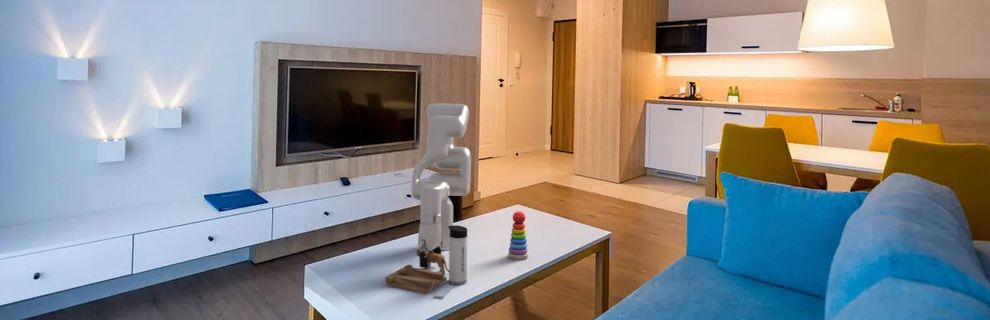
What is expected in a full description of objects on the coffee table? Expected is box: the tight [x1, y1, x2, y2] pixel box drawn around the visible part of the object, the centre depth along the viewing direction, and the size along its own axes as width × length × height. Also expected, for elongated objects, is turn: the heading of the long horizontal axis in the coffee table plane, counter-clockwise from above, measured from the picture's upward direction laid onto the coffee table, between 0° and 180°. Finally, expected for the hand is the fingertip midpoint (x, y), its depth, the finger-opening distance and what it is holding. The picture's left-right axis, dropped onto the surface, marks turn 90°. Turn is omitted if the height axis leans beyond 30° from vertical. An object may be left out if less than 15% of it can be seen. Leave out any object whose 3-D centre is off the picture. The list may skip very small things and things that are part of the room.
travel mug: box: [448, 225, 468, 286], centre depth 186 cm, size 6×7×20 cm
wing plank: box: [434, 284, 454, 300], centre depth 178 cm, size 10×3×1 cm, turn 166°
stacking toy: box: [507, 210, 529, 260], centre depth 213 cm, size 8×8×19 cm
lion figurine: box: [415, 245, 449, 275], centre depth 197 cm, size 15×5×9 cm, turn 67°
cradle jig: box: [385, 264, 447, 295], centre depth 186 cm, size 14×16×3 cm
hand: (430, 263), depth 198 cm, fingers open, 9 cm apart
